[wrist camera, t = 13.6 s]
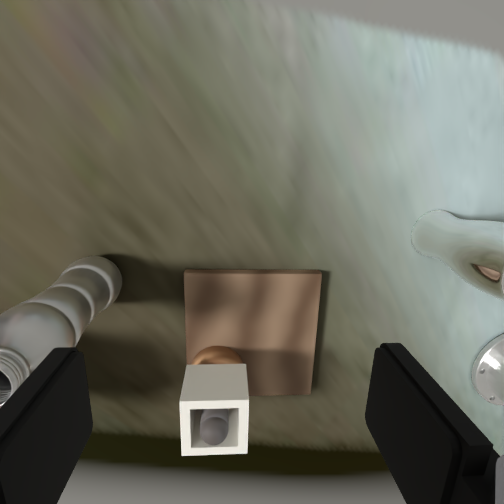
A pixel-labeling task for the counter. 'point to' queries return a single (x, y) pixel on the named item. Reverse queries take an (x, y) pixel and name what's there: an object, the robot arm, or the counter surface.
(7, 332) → the plastic bottle
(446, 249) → the beer glass
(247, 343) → the post board
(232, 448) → the hollow square frame
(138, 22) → the counter surface
